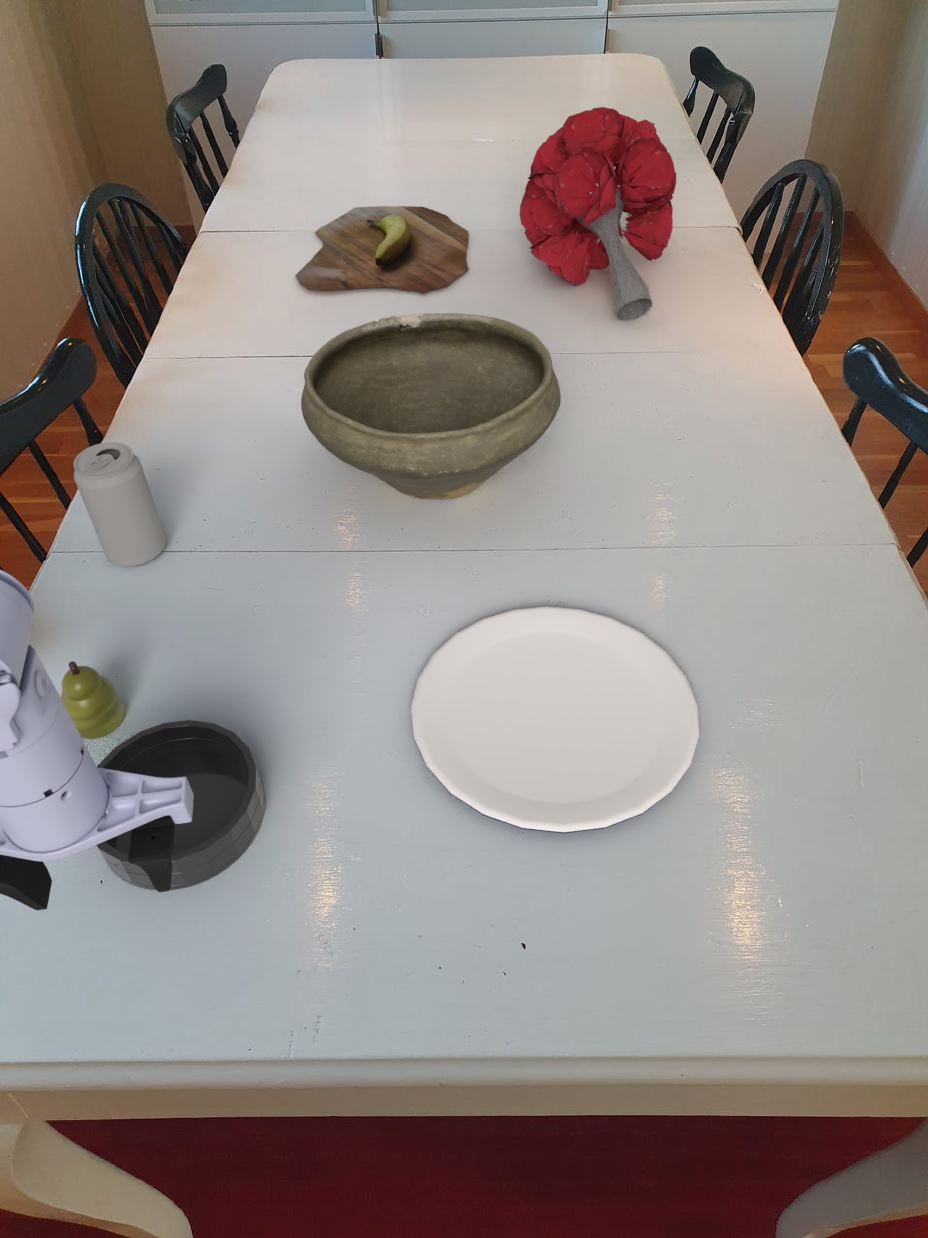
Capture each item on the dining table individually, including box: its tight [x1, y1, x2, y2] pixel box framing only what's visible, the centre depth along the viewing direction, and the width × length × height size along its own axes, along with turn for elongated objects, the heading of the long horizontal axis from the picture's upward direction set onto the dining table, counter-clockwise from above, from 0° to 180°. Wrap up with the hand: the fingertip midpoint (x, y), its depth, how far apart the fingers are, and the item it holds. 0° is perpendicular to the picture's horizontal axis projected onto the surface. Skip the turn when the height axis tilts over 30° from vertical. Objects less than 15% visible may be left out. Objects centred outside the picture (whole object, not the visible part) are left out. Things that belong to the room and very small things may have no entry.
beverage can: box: [73, 441, 167, 568], centre depth 92 cm, size 6×6×12 cm
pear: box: [60, 660, 126, 740], centre depth 78 cm, size 5×5×7 cm
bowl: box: [300, 312, 562, 500], centre depth 100 cm, size 28×28×14 cm
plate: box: [410, 606, 700, 834], centre depth 79 cm, size 25×25×1 cm
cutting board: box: [294, 205, 469, 294], centre depth 148 cm, size 35×27×4 cm
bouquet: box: [519, 106, 677, 321], centre depth 131 cm, size 22×24×30 cm
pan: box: [94, 719, 266, 891], centre depth 72 cm, size 13×13×4 cm
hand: (105, 886), depth 59 cm, fingers open, 7 cm apart
